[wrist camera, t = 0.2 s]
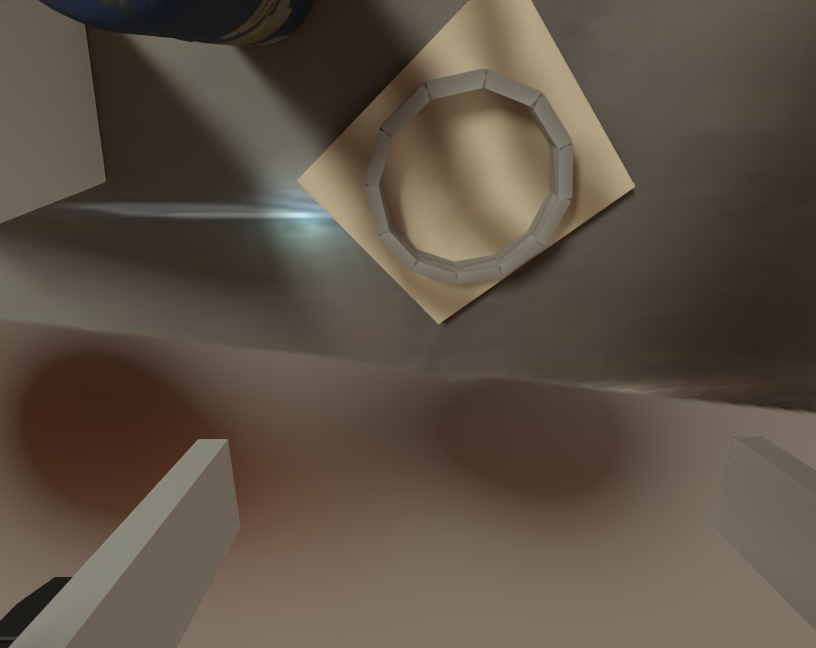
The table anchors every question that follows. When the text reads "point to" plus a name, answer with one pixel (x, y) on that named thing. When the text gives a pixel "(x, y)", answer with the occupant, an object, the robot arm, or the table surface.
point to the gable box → (45, 109)
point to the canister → (192, 18)
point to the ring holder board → (470, 159)
